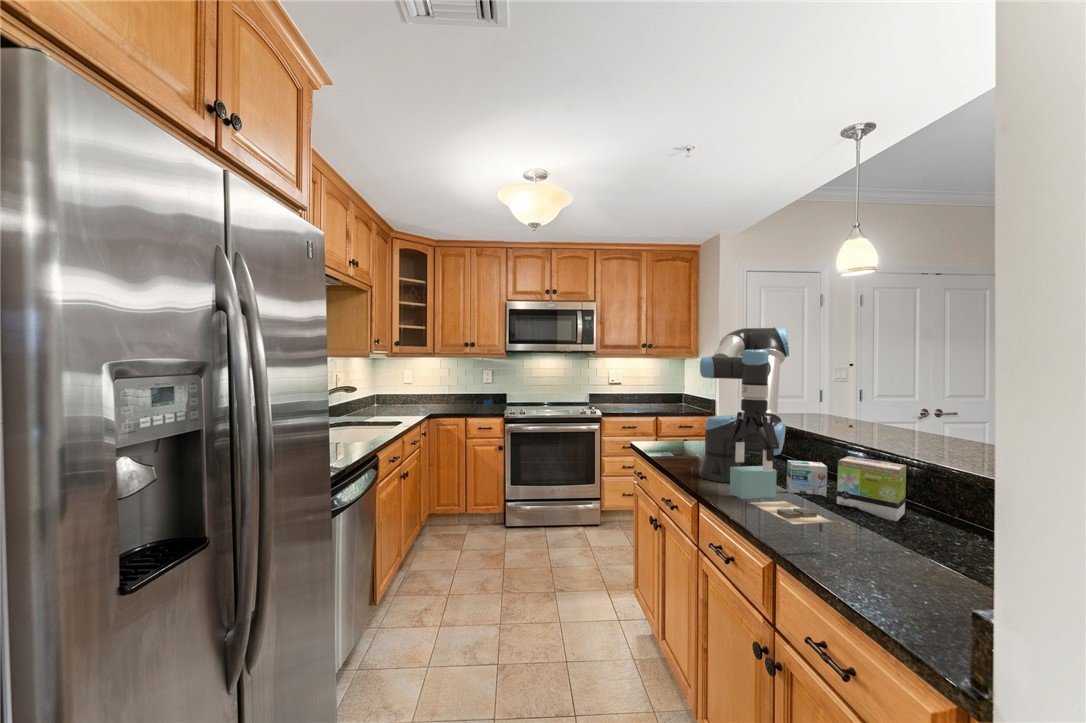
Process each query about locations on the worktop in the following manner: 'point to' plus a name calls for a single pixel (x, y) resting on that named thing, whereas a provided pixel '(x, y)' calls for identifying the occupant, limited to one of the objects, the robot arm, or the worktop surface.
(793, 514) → the chip
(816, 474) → the light bulb box
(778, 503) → the birch board
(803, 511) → the chip
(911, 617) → the worktop surface
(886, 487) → the tea box
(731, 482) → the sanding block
